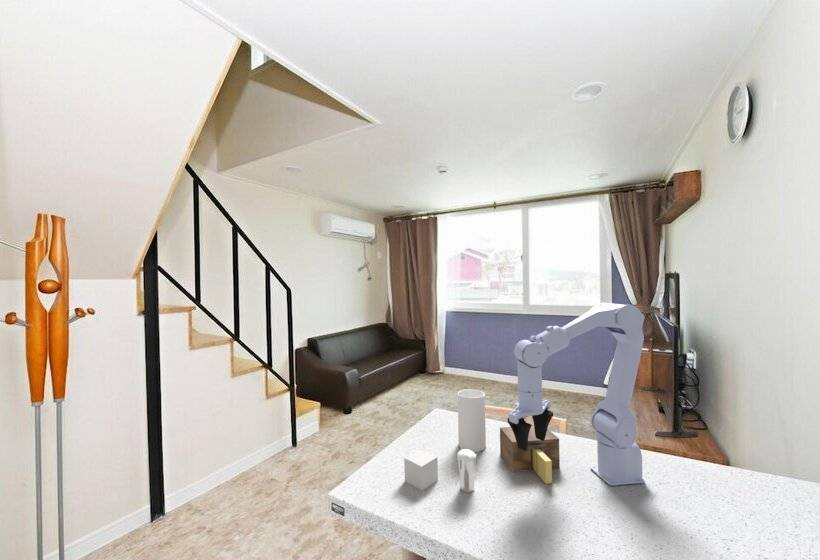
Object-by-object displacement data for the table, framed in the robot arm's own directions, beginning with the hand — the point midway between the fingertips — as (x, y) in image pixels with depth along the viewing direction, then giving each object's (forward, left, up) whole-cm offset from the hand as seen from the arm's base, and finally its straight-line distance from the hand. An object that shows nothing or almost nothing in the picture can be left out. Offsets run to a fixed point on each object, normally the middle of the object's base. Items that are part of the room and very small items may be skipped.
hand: (531, 443), depth 85 cm
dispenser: (-4, -10, -10) cm, 14 cm away
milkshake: (+16, 0, -10) cm, 19 cm away
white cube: (+27, -5, -10) cm, 29 cm away
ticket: (-4, -6, -10) cm, 12 cm away
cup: (+9, -21, -10) cm, 25 cm away
